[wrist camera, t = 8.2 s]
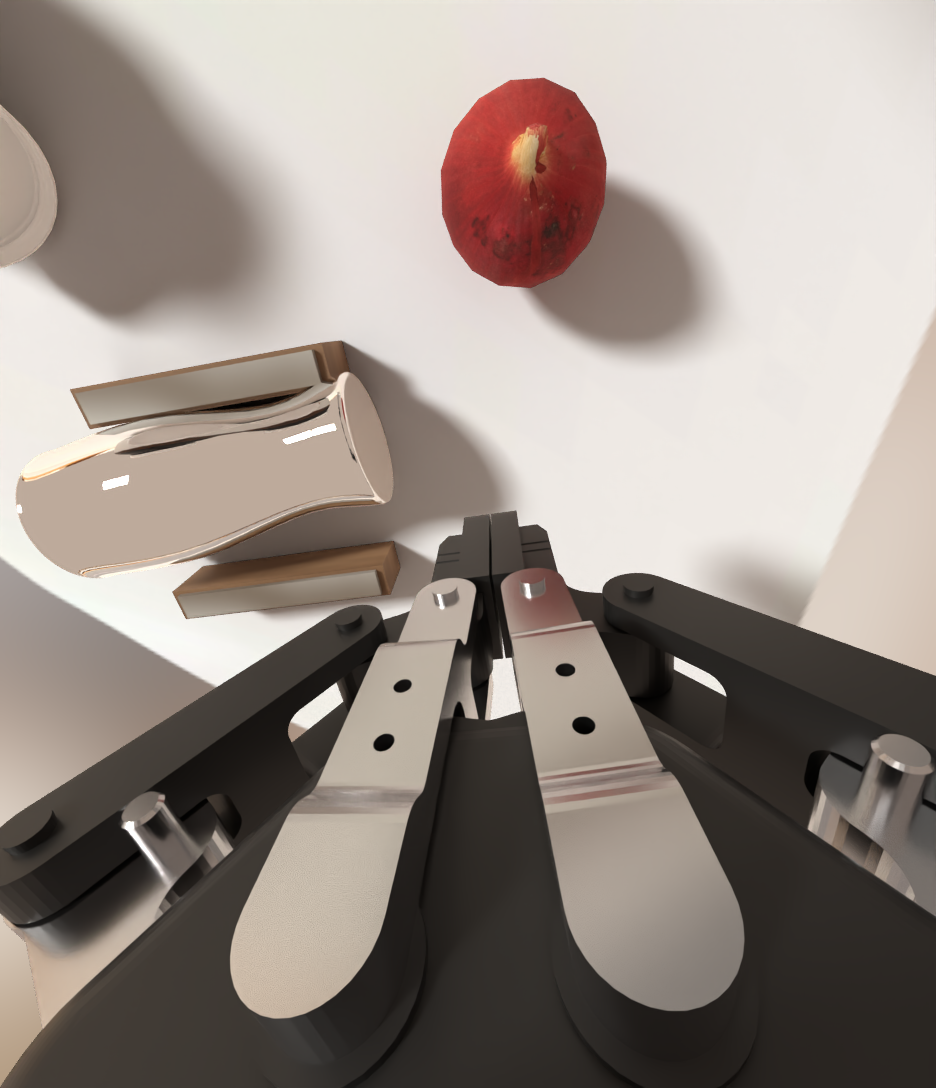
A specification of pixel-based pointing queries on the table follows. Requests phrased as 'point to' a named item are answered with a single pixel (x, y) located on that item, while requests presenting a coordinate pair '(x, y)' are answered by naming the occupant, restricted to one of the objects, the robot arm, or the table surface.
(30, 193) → the spread jar
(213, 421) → the beer glass
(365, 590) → the cradle
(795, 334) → the table surface
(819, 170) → the table surface
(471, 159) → the onion
